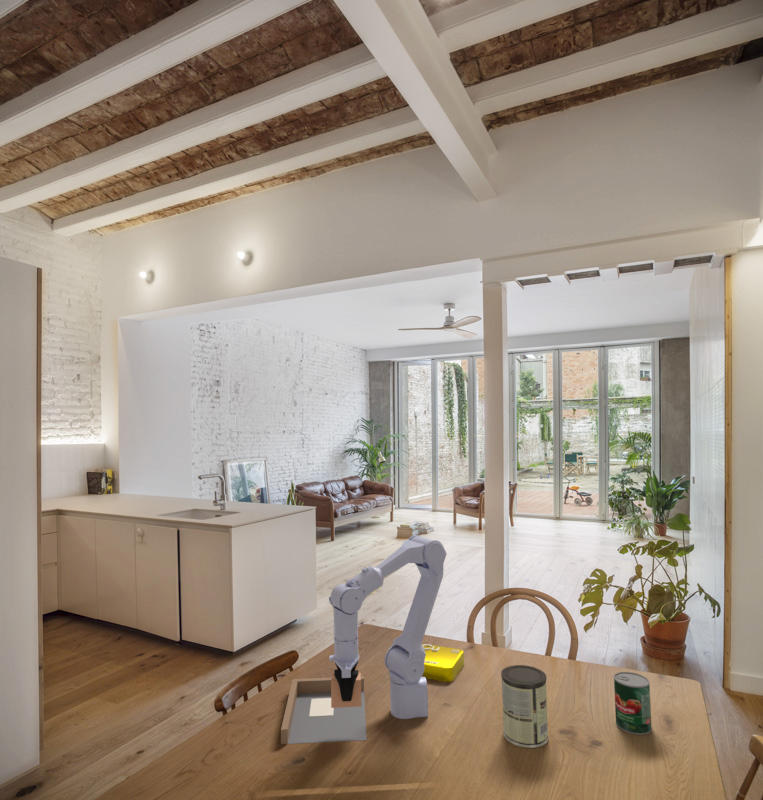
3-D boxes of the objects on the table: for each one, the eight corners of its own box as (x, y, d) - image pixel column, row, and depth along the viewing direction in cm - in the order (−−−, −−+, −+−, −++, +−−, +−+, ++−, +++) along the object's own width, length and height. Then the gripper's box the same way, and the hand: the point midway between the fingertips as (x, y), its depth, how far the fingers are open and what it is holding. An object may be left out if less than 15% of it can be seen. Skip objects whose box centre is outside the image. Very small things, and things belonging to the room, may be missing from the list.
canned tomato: (652, 722, 133) (650, 675, 134) (651, 738, 126) (649, 689, 127) (617, 714, 137) (615, 669, 138) (613, 729, 130) (612, 682, 131)
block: (361, 698, 132) (360, 672, 132) (361, 706, 128) (361, 680, 129) (331, 699, 132) (331, 673, 132) (331, 707, 128) (331, 681, 128)
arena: (363, 691, 151) (363, 676, 151) (366, 743, 126) (366, 725, 126) (292, 694, 150) (292, 679, 150) (280, 747, 125) (280, 729, 125)
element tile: (402, 675, 161) (402, 659, 162) (420, 656, 175) (419, 641, 175) (451, 684, 155) (451, 667, 156) (465, 663, 169) (465, 647, 169)
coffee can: (505, 721, 135) (503, 662, 135) (549, 728, 131) (547, 667, 132) (500, 744, 125) (498, 680, 126) (547, 752, 121) (545, 686, 122)
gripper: (330, 627, 138) (330, 682, 137) (328, 649, 123) (328, 712, 123) (358, 625, 138) (359, 681, 137) (359, 648, 124) (360, 710, 123)
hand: (346, 695), depth 130 cm, fingers closed on block, 4 cm apart
